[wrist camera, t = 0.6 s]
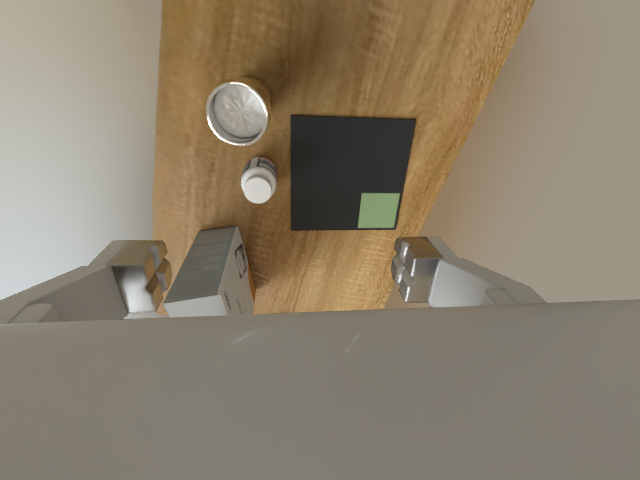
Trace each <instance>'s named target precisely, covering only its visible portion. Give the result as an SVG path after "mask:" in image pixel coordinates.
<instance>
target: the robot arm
mask: <svg viewBox="0 0 640 480" xmlns="http://www.w3.org/2000/svg"><path fill="white" fill-rule="evenodd" d="M394 249H395V250H396V252H397V254H396V255H395V256H394V257H393V258H392V264H391V273H392V277H393V280H394V282H395V283H396V284H398V285H399V286H400V288H399V292H400V294H401V296H402V298H403V300H404V302H405V303H429V304H430V305H431V306H432V307H429V308H403V309H377V310H351V311H326V312H300V313H274V314H248V315H222V316H195V317H169V318H146V319H145V318H144V319H123V318H124V317H125V316H127V315H128V314H129V313H145V312H156V311H157V309H158V307H159V305H160V303H161V301H162V299H163V296H162V293H163V292H164V291H166V290H168V288H169V286H170V283H171V277H172V272H171V265H170V263H169V262H168V261H167V260H166V259H165V258H164V257H165V255H166V253H167V249H166V245H165V243H164V242H163V241H162V240H116V241H112V242H111V243H110V244H109V245H108V246H107V247H106V248H105V249H104V250H103V251H102V252H101V253H100V254H99V255H98V256H97V257H96V258H95V259H94V260H93V261H92V262H91V263H90V264H89V265H88V266H82V267H79V268H77V269H74V270H72V271H70V272H67V273H65V274H62V275H60V276H58V277H55V278H53V279H50V280H48V281H46V282H44V283H41V284H38V285H36V286H34V287H31V288H29V289H27V290H24V291H22V292H19V293H17V294H14V295H12V296H10V297H7V298H5V299H3V300H0V480H640V300H613V301H588V302H561V303H547V302H546V301H545V300H544V299H542V298H541V297H540V296H539V295H538V294H537V293H536V292H535V291H534V290H533V289H532V288H530V287H529V286H526V285H524V284H522V283H519V282H517V281H515V280H512V279H510V278H508V277H505V276H503V275H501V274H498V273H496V272H494V271H492V270H489V269H487V268H484V267H482V266H480V265H478V264H475V263H473V262H471V261H468V260H466V259H464V258H458V257H457V256H456V254H455V253H454V252H453V251H452V250H451V249H450V248H449V247H448V246H447V245H446V244H445V242H444V241H443V240H442V239H441V238H440V237H438V236H430V237H400V238H397V240H396V242H395V247H394Z"/></svg>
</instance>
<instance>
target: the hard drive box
mask: <svg viewBox="0 0 640 480" xmlns="http://www.w3.org/2000/svg"><path fill="white" fill-rule="evenodd" d="M255 292H256V289H255V285H254V282H253V277H252V274H251V271H250V267H249V264H248V260H247V256H246V252H245V249H244V244H243V241H242V237H241V234H240V230H239V227H238V226H233V227H226V228H219V229H212V230H205V231H199V232H198V234H197V236H196V238H195V240H194V242H193V244H192V246H191V248H190V250H189V252H188V254H187V256H186V258H185V260H184V262H183V264H182V266H181V268H180V270H179V272H178V274H177V276H176V278H175V280H174V282H173V284H172V286H171V289H170V291H169V293H168V294H167V297H166V299H165V301H164V303H163V305H164V307H165V309H166V312H167V314H168V316H169V317H195V316H222V315H248V314H253V311H254V302H255Z"/></svg>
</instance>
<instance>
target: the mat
mask: <svg viewBox="0 0 640 480" xmlns="http://www.w3.org/2000/svg"><path fill="white" fill-rule="evenodd" d="M415 122H416V119H391V118H358V117H326V116H294V115H291V230H395V229H396V224H397V219H398V213H399V208H400V203H401V197H402V192H403V187H404V181H405V176H406V171H407V165H408V160H409V155H410V149H411V144H412V138H413V133H414V128H415Z"/></svg>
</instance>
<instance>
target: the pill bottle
mask: <svg viewBox="0 0 640 480" xmlns="http://www.w3.org/2000/svg"><path fill="white" fill-rule="evenodd" d="M276 177H277V171H276V167H275V165H274V164H273V162H272V161H270V160H269V159H267V158H265V157H255V158H253V159H251V160H250V161H248V163H247V164H246V166H245V169H244V172H243V175H242V179H241V187H242V190H243V192H244V194H245V196H246V198H247V199H248V200H249V201H251V202H253V203H257V204H260V203H264V202H266V201H267V200H268V199H269V198H270V197H271V196H272V195H273V193H274V192H275V189H276Z"/></svg>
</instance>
